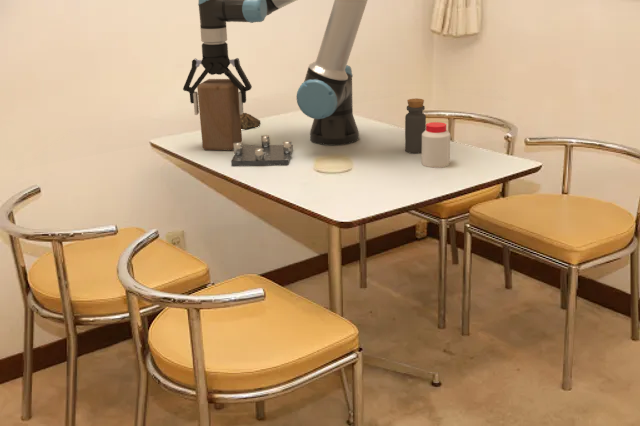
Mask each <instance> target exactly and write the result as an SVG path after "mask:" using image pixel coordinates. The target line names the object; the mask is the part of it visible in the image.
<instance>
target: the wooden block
mask: <svg viewBox="0 0 640 426" xmlns="http://www.w3.org/2000/svg"><path fill="white" fill-rule="evenodd" d="M196 89H197V93H198V106H199V119H200V121H199V123H200V132H201V141H202V142H201V144H202V149H203V150H205V151H234V146H233V143H234V142H241V143H242V141H243V135H242V130H241V118H240V111H239V92H240V90H239V89H238V88H237V87H236V86H235V84H234V83H233V82H232V81H231V80H230V79H229V78H208V79H206V80H204V81H202V82H201V83H200V84H199V85H198V87H197V88H196Z"/></svg>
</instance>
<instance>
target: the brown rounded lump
mask: <svg viewBox="0 0 640 426" xmlns="http://www.w3.org/2000/svg"><path fill="white" fill-rule="evenodd" d="M240 118H241V129H245V130H248V129H250V128H252V129H253V127H258V126H259V127H260V125H261V120H260V119H259V118H257V117H255V116H254V115H252V114H250V113H247V112H243V114H241V115H240ZM259 124H260V125H259ZM259 127H258V128H259Z"/></svg>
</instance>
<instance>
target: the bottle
mask: <svg viewBox="0 0 640 426" xmlns="http://www.w3.org/2000/svg"><path fill="white" fill-rule="evenodd" d="M424 103H425V100H424V98H409V99H407V105H406V110H407V111H408V112H407V113H406V114H405V116H404V119H405V120H404V128H405V129H404V132H405V133H404V134H405V135H404V141H405V142H404V145H405V146H404V147H405V148H404V151H405V152H406V153H408V154H414V155H415V154H421V151H422V133H423V132H424V131H425V130H426V124H427V120H426V117H427V115H426V114H425V113H424V112H423V111H425V108H426V107H425V105H424Z"/></svg>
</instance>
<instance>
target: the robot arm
mask: <svg viewBox="0 0 640 426" xmlns="http://www.w3.org/2000/svg"><path fill="white" fill-rule="evenodd" d="M296 1H297V0H198V3H197V6H198V12H199V23H200V27H199V28H200V29H199V30H200V41H201V42H202V44H201V54H202V59H197V58H193V60H191V68H190V70H189V73H188V76H187V78H186V79H185V80H186V81H185V83H184V86H183V88H182V90H183V91H184V92H187V93H189V100H190V101H189V102H190V104H193V109H194V110H193V111H194V115H195V116H198V115H199V114H200V111H199V100H198V91H196V89H197V87H198V85H199V84H201V83H202V82H203V80H204V79H205V77H206V76H208V74H209V75H211V76H214V75H221V76H222V75H223V74H224V75H225V76H226V77H227V79H230V80H231V81H232V82H233V83H234V84H235V86H236V87H237V88H238V90H239V111H240V115H241V114H243V113H244V104H245V103H246V102H247V92H248V91H251V89H252V88H253V87H252V84H251V82H250V81H249V79H248V77H247V75H246V73H245V71H244V70H243V68H242V66H241V62H240V58H238V57H236V58H235V59H234V58H233V59H230V58H229V47H228V43H227V41H228V31H227V29H228V28H227V23H231V22H233V23H236V22H237V23H250V24H252V23H262V22H264V21H265V19H266V17H267V16H269V15H271V14H272V13H274V12H276V11H278V10H279V9H282V8H284V7H286V6H288V5H290V4H291V3H292V4H293V3H294V2H296ZM367 3H368V0H334V1H333V5H332V8H331V11H330V14H329V18H328V20H327V24H326V27H325V31H324V34H323V38H322V41H321V44H320V47H319V50H318V52H317V53H318V54H317V56H316V60H315V61H313V62H312V63H310V64H308V67H307V71H306V74H305V77H304V81H303V82H302V83H301V85H299V87H298V89H297V92H296V103H297V106H298V108H299V109H300V111H301V112H302V113H303V114H304V115H305V116H307V117H308V118H311V119H313V122H312V125H311V128H310V132H309V140H310V141H311V143H314V144H318V145H324V146H327V145H328V146H338V145H347V144H351V143H355V142H357V141H358V140H359V139H360V133H359V132H360V131H359V128H358V125H357V122H356V120H355V117H354V113H353V75H354V74H353V73H352V72H353V71H352V67H351V66H350V65H348V61H349V58H350V55H351V52H352V49H353V46H354V43H355V39H356V37H357V34H358V31H359V28H360V25H361V21H362V19H363V15H364V12H365V9H366V6H367ZM230 64H231V65H232V67H234V68H235V70H236V72H237V74H238V76H239V77H240V79H241V81H242V82H241V81H240V80H239V78H237V77H236V76H235V74H234V73H233V72H232V71H231V70H230V69H229V66H230ZM200 65H201V66H202V67H203V68H204V70H203V72H201V74H200V75H199V77H198V78H197V79H196V81H195V82H194V83H193V85H191V84H192V81H193V78H194V76H195V73H196V71H197V70H198V67H200Z"/></svg>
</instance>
